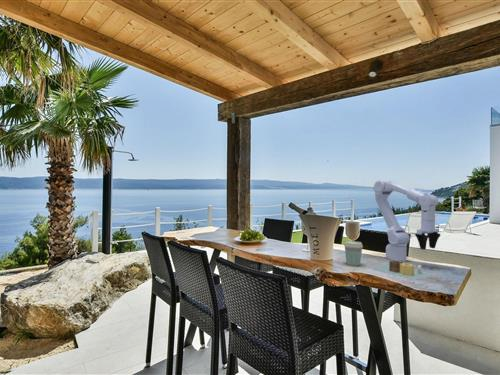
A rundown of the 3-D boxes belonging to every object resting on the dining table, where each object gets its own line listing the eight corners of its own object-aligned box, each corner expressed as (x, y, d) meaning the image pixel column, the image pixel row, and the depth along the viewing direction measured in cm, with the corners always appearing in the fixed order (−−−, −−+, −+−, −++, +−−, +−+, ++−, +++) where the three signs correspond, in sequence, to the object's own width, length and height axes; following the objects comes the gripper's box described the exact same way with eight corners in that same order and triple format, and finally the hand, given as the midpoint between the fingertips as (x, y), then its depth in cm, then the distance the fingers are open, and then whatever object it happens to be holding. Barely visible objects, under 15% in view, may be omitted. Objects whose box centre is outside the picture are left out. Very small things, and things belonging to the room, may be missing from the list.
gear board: (367, 270, 140) (368, 259, 140) (390, 266, 148) (390, 256, 148) (413, 283, 121) (413, 271, 121) (436, 278, 129) (436, 267, 129)
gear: (386, 270, 136) (386, 261, 136) (393, 268, 138) (394, 260, 138) (397, 273, 131) (398, 263, 131) (405, 271, 133) (405, 262, 133)
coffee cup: (366, 269, 142) (366, 243, 142) (349, 269, 141) (349, 244, 141) (356, 264, 150) (357, 240, 150) (340, 265, 149) (341, 240, 149)
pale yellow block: (399, 274, 129) (399, 264, 129) (400, 271, 134) (400, 262, 134) (413, 276, 126) (413, 266, 126) (414, 273, 131) (414, 264, 131)
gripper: (427, 221, 137) (427, 251, 137) (445, 220, 144) (444, 248, 144) (412, 219, 144) (412, 248, 144) (430, 218, 151) (430, 246, 151)
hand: (427, 248), depth 144 cm, fingers open, 7 cm apart
